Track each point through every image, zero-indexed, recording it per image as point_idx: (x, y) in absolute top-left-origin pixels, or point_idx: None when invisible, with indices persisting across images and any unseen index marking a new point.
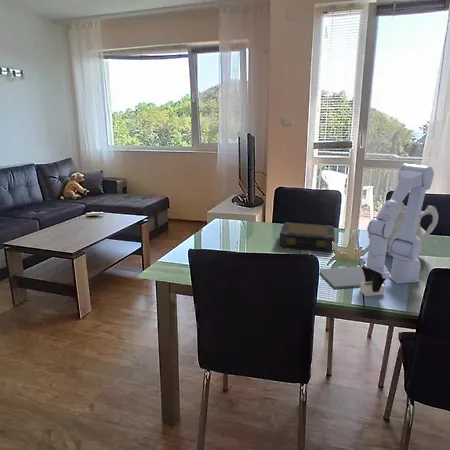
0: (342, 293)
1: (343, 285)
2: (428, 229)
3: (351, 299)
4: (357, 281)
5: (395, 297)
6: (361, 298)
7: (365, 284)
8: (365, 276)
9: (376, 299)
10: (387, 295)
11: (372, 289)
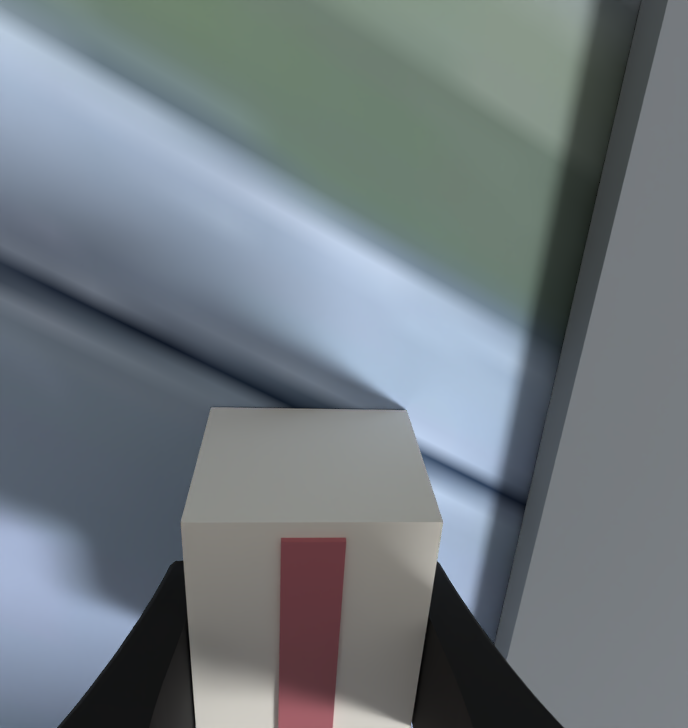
0: (394, 9)
1: (649, 190)
2: None
3: (94, 65)
4: (668, 512)
5: None
6: (127, 295)
7: (294, 549)
8: (492, 706)
9: (79, 503)
10: None
11: None
